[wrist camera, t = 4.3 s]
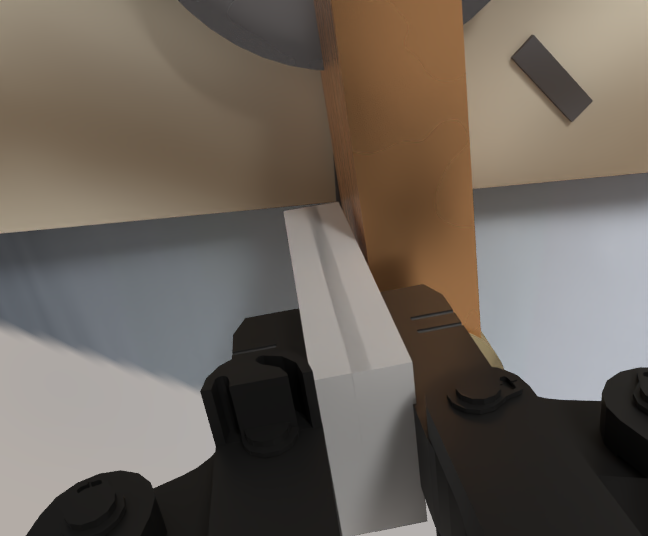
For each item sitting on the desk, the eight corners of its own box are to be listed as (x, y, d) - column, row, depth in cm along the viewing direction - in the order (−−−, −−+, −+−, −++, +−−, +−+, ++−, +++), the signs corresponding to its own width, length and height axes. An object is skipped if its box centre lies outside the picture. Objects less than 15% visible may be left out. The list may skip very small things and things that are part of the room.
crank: (32, -440, 10) (-163, -808, 5) (547, -527, 10) (775, -956, 6) (242, 357, 17) (234, 487, 12) (547, 298, 17) (649, 406, 12)
